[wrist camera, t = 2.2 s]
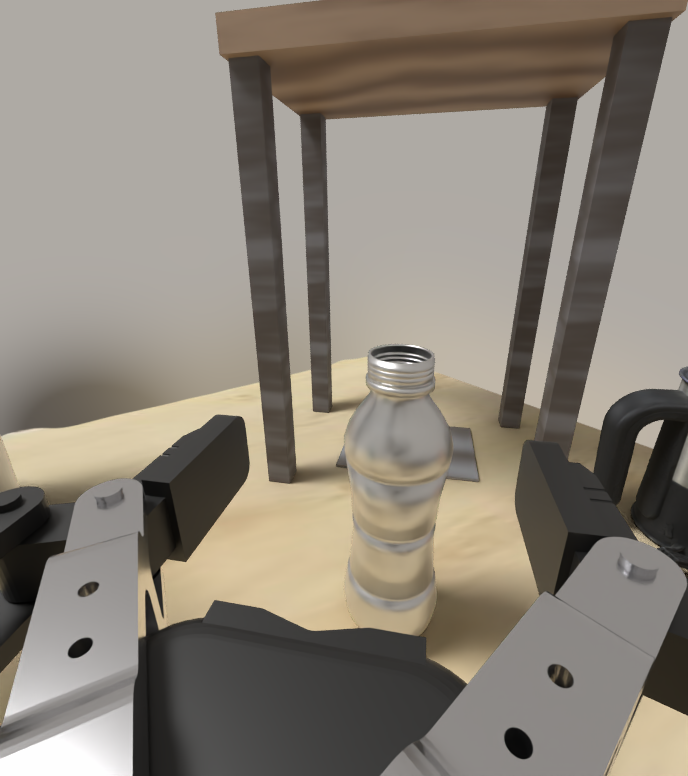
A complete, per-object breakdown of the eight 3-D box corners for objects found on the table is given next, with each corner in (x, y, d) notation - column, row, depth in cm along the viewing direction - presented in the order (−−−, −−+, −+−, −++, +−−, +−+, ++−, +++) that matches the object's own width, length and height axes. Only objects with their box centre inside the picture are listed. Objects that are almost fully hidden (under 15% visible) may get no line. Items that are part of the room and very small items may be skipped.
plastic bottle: (399, 565, 34) (413, 332, 26) (454, 634, 28) (491, 362, 20) (329, 595, 31) (321, 345, 23) (373, 678, 26) (382, 384, 18)
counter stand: (560, 520, 39) (698, -44, 23) (263, 484, 44) (215, 12, 29) (517, 418, 58) (576, 77, 43) (316, 402, 64) (304, 96, 49)
